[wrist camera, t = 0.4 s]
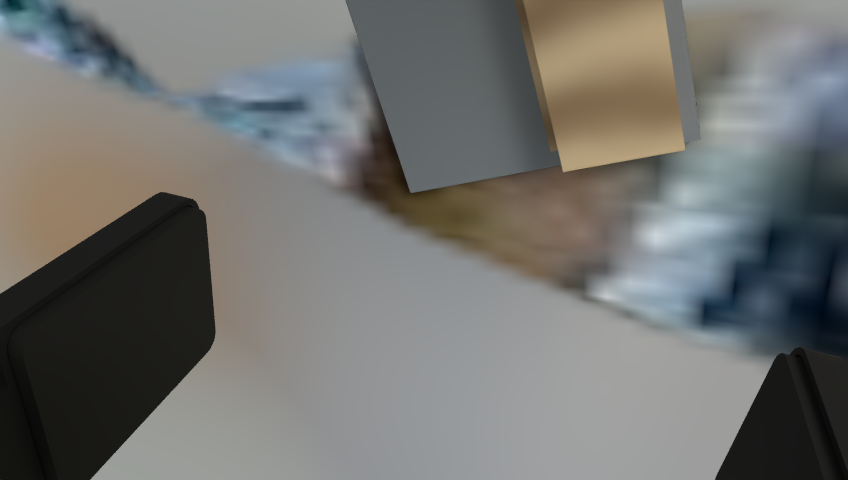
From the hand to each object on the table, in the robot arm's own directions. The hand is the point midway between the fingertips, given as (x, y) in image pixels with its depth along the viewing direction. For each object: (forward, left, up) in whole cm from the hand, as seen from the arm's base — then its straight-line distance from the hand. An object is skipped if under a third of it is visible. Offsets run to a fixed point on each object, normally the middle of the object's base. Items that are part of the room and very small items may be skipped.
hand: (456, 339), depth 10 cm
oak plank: (-2, 0, -33) cm, 33 cm away
